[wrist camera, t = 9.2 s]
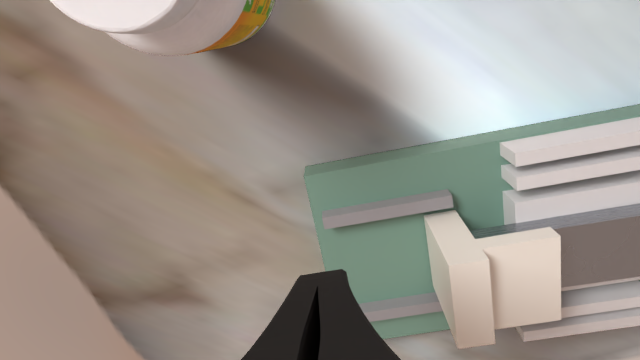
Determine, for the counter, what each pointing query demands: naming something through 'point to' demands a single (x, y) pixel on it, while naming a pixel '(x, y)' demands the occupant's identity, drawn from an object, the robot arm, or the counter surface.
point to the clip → (492, 278)
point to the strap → (589, 243)
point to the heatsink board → (475, 213)
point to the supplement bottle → (171, 22)
